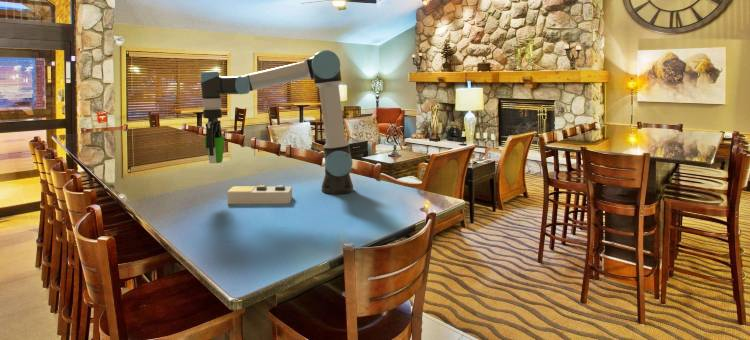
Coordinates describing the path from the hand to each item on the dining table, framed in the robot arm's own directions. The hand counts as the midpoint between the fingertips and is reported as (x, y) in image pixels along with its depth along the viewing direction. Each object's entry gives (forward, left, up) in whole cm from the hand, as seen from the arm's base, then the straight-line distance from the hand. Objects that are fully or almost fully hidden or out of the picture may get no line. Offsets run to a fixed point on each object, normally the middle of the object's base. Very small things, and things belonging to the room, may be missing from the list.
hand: (216, 161), depth 204 cm
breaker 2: (-27, +1, -17) cm, 32 cm away
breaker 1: (-19, +1, -17) cm, 26 cm away
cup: (0, 0, -1) cm, 1 cm away
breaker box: (-19, +1, -17) cm, 26 cm away
